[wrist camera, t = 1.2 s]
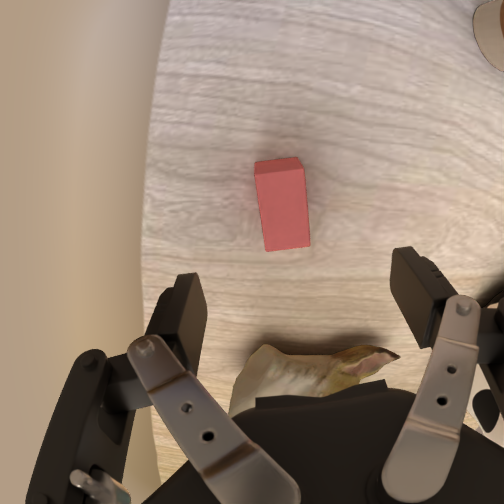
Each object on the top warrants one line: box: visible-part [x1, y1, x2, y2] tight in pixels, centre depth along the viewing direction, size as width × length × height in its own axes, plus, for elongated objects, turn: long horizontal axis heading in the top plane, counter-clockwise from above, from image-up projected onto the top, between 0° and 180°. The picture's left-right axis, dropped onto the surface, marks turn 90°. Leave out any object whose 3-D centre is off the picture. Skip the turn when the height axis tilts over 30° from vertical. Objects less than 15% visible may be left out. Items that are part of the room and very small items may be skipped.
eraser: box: [254, 157, 310, 252], centre depth 20 cm, size 5×3×3 cm, turn 8°
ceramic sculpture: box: [228, 344, 400, 418], centre depth 26 cm, size 11×9×15 cm
